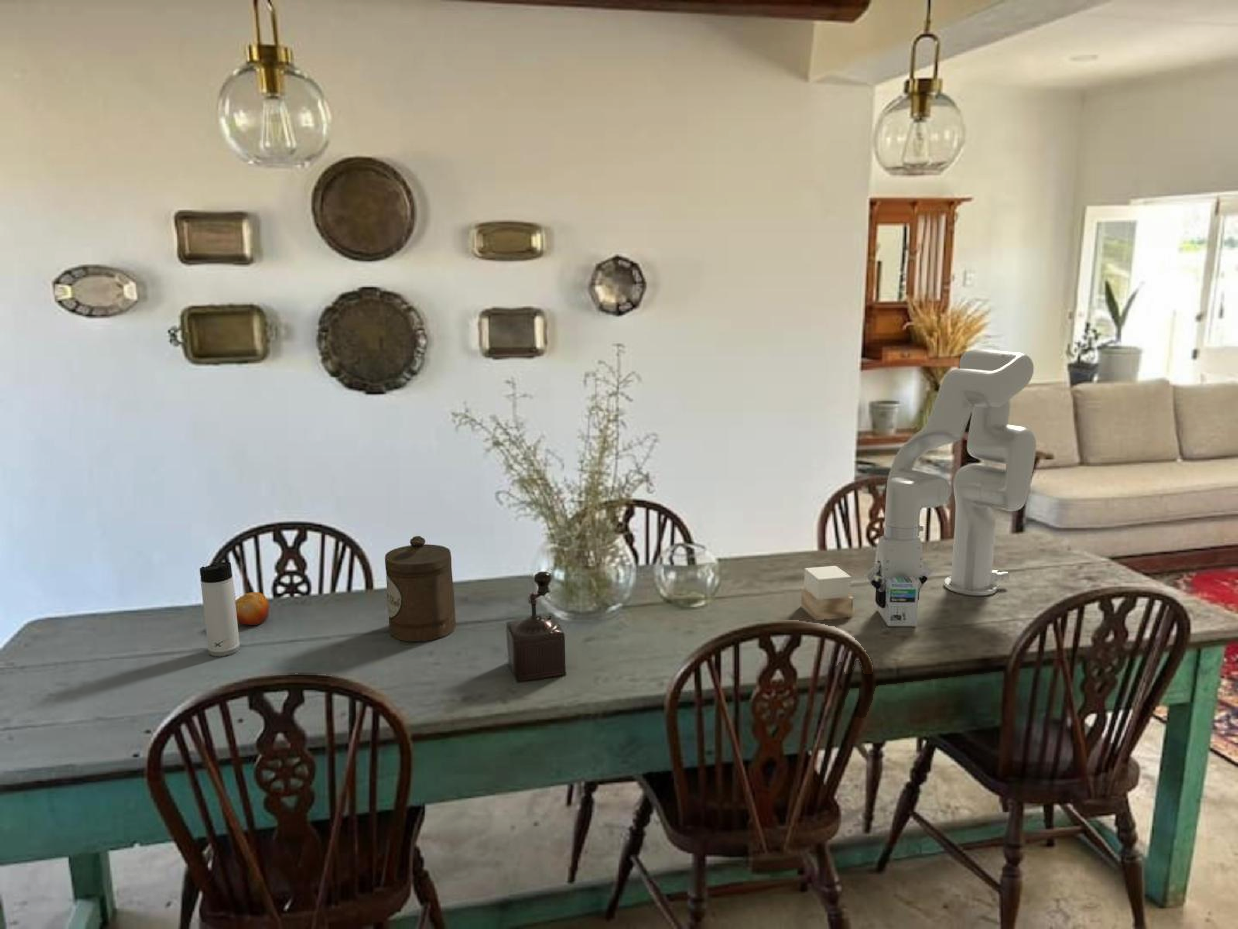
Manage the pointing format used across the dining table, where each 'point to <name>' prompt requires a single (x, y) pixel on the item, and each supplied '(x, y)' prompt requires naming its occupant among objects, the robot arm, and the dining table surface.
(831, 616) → the tower base
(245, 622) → the fruit
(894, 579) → the light bulb box
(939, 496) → the robot arm
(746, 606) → the dining table surface
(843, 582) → the tower top
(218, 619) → the travel mug
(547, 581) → the manual coffee grinder
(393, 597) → the wooden container
